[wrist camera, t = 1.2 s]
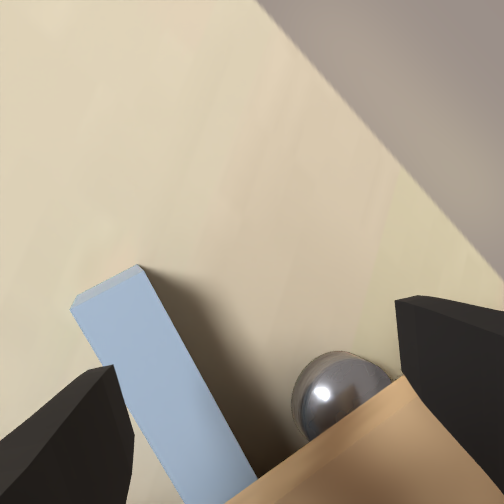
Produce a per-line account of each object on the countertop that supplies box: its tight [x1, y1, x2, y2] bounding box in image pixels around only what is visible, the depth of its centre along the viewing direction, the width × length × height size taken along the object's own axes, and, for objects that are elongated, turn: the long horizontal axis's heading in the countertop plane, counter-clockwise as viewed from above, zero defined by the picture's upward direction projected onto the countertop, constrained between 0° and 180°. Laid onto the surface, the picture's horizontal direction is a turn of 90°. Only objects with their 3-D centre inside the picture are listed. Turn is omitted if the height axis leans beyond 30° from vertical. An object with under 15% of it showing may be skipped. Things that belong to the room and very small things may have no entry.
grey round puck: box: [291, 351, 392, 442], centre depth 22 cm, size 5×5×2 cm
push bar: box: [70, 265, 258, 504], centre depth 18 cm, size 3×14×4 cm, turn 27°
